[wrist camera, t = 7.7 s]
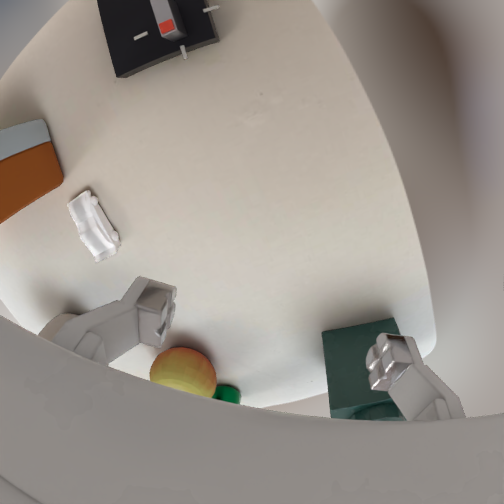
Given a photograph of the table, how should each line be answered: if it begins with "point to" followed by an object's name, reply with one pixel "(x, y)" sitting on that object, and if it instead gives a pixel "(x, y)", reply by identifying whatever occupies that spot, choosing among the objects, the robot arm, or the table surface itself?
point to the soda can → (227, 394)
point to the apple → (184, 371)
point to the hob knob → (169, 19)
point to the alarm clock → (26, 166)
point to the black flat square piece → (152, 33)
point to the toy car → (94, 226)
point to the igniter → (356, 373)
